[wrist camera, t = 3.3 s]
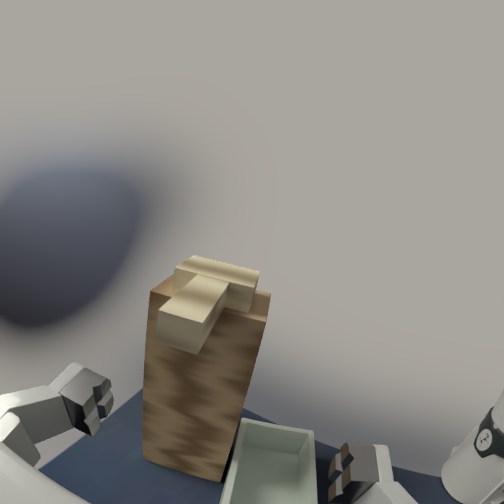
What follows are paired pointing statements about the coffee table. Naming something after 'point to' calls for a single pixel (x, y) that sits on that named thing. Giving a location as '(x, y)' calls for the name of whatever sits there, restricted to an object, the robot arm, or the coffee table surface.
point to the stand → (198, 388)
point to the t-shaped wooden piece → (202, 300)
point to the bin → (271, 466)
